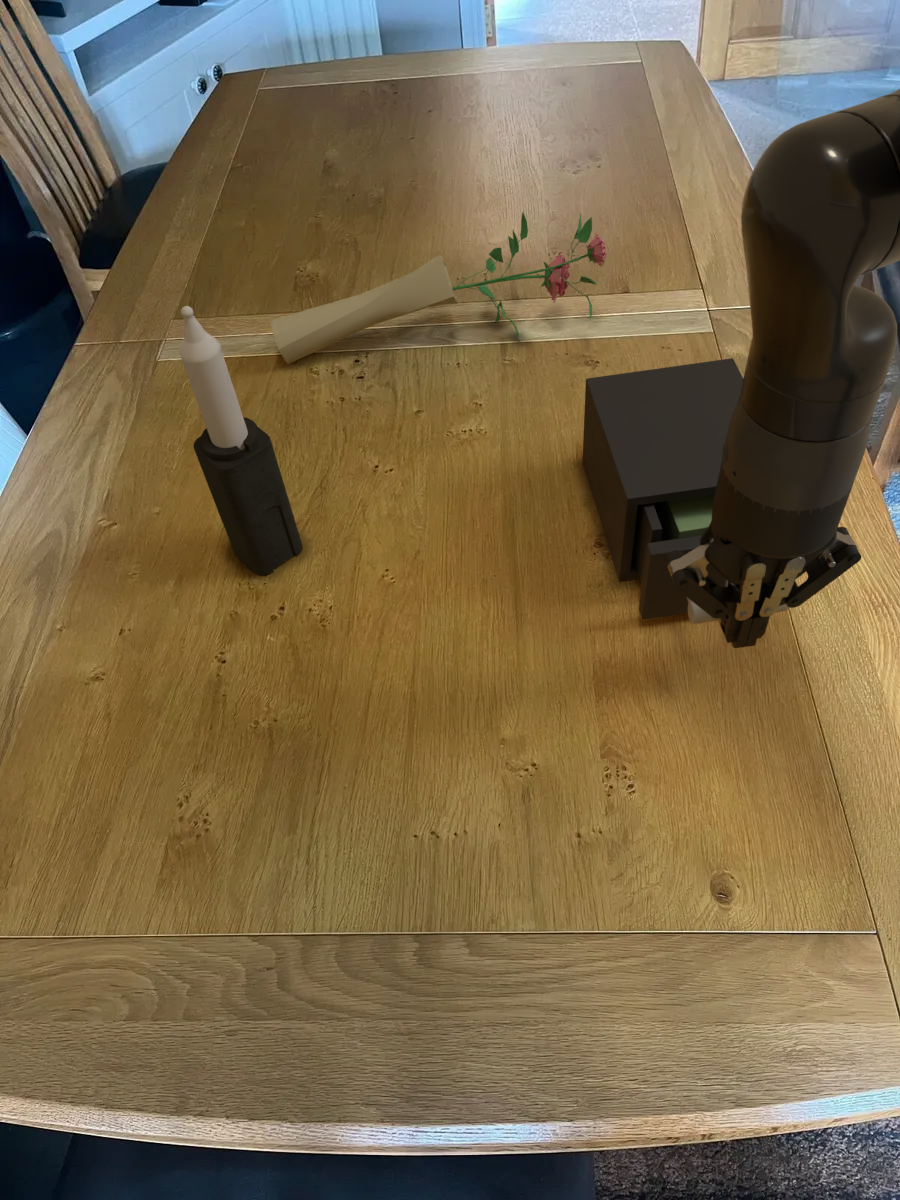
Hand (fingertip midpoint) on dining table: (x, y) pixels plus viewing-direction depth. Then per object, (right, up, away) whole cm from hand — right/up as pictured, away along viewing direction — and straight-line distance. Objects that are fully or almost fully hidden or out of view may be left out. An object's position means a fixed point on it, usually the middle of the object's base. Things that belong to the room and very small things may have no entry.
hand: (740, 637), depth 68 cm
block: (-1, +7, +9) cm, 12 cm away
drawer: (-1, +5, +9) cm, 11 cm away
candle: (-37, +7, +16) cm, 41 cm away
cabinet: (-2, +11, +15) cm, 19 cm away
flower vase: (-22, +31, +34) cm, 51 cm away
